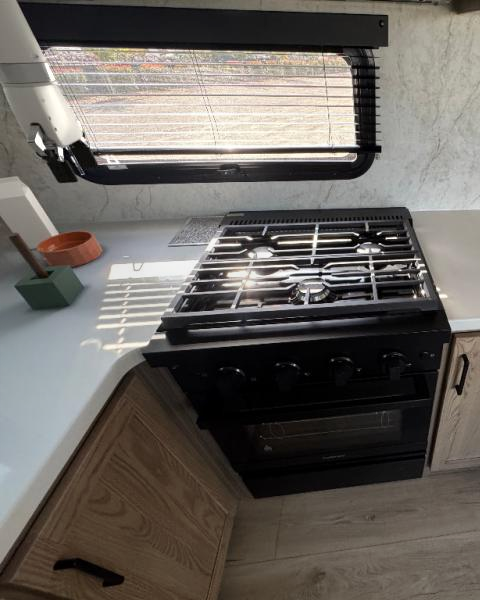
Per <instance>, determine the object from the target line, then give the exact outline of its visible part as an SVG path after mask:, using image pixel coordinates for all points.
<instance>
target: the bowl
mask: <svg viewBox="0 0 480 600" xmlns="http://www.w3.org/2000/svg"><path fill="white" fill-rule="evenodd" d="M35 249H36V251H38V253H39V254H40V256H41V257H42V259H43V260H44V261H45V263H46V264H47V266H48V267H52V266H63V265H70V267H71V268H75V267H80V266H82V265H85V264H88V263H91V262H93V261H94V260H96V259H97V258H99V257H100V256H101V255H102V253H103V248H102V246H101V244H100V243H99V241H98V240H97V238H96V235H95V234H93V232H91V231H88V230H73V231H67V232H61V233H59V234H58V235H55V236H52V237H49V238H47V239H45V240H43V241H41V242H40V243H39V244H38V245H37V247H36V248H35Z"/></svg>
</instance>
